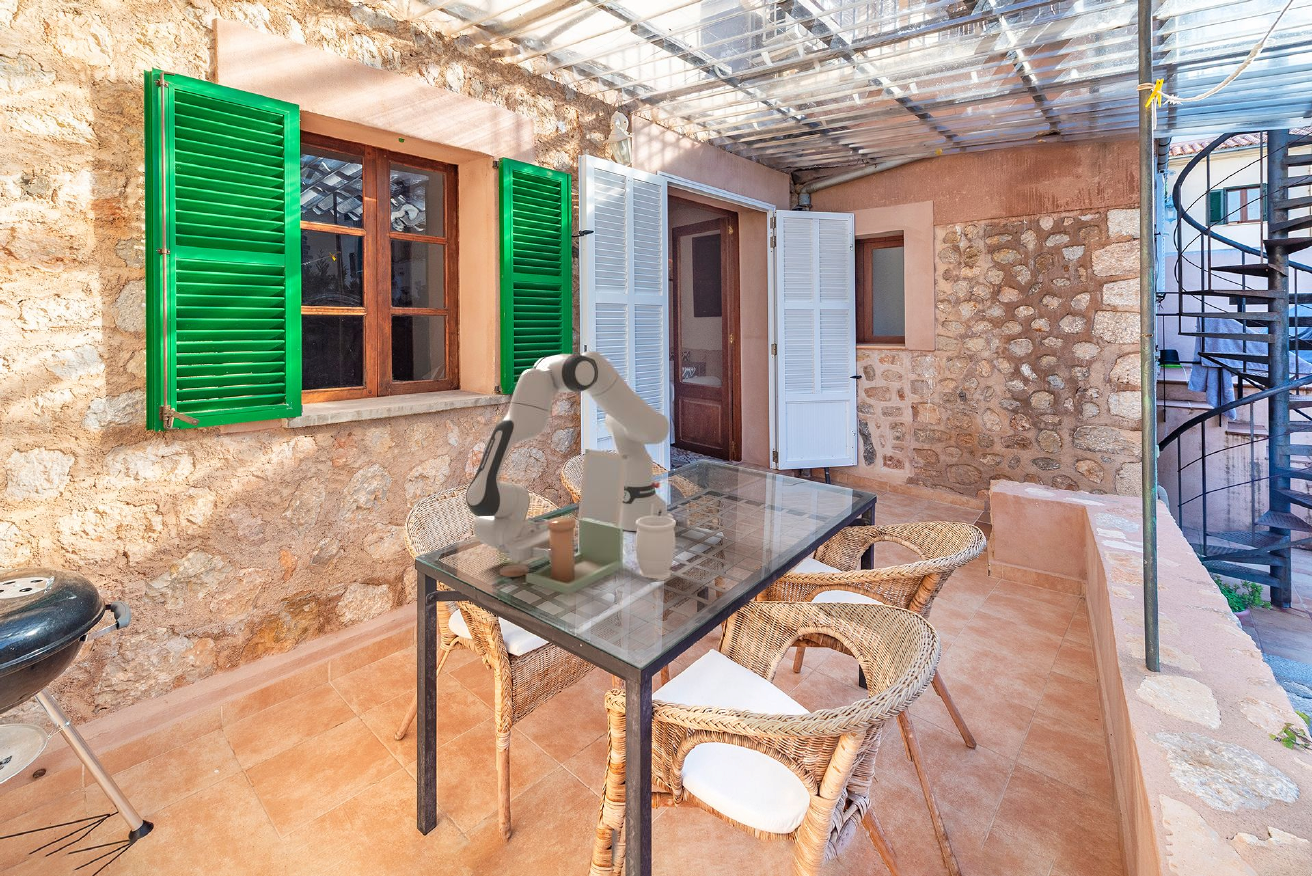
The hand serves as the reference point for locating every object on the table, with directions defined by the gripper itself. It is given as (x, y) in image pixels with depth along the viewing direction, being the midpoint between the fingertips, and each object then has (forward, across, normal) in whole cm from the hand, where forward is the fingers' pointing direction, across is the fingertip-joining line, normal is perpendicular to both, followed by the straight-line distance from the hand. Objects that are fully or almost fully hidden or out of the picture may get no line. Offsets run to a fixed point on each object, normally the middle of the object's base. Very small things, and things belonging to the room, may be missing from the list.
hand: (563, 548), depth 161 cm
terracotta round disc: (-14, -4, +9) cm, 17 cm away
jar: (+17, +17, +9) cm, 26 cm away
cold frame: (+1, +4, +9) cm, 10 cm away
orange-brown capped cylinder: (0, 0, +8) cm, 8 cm away
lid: (+1, +15, -13) cm, 20 cm away
